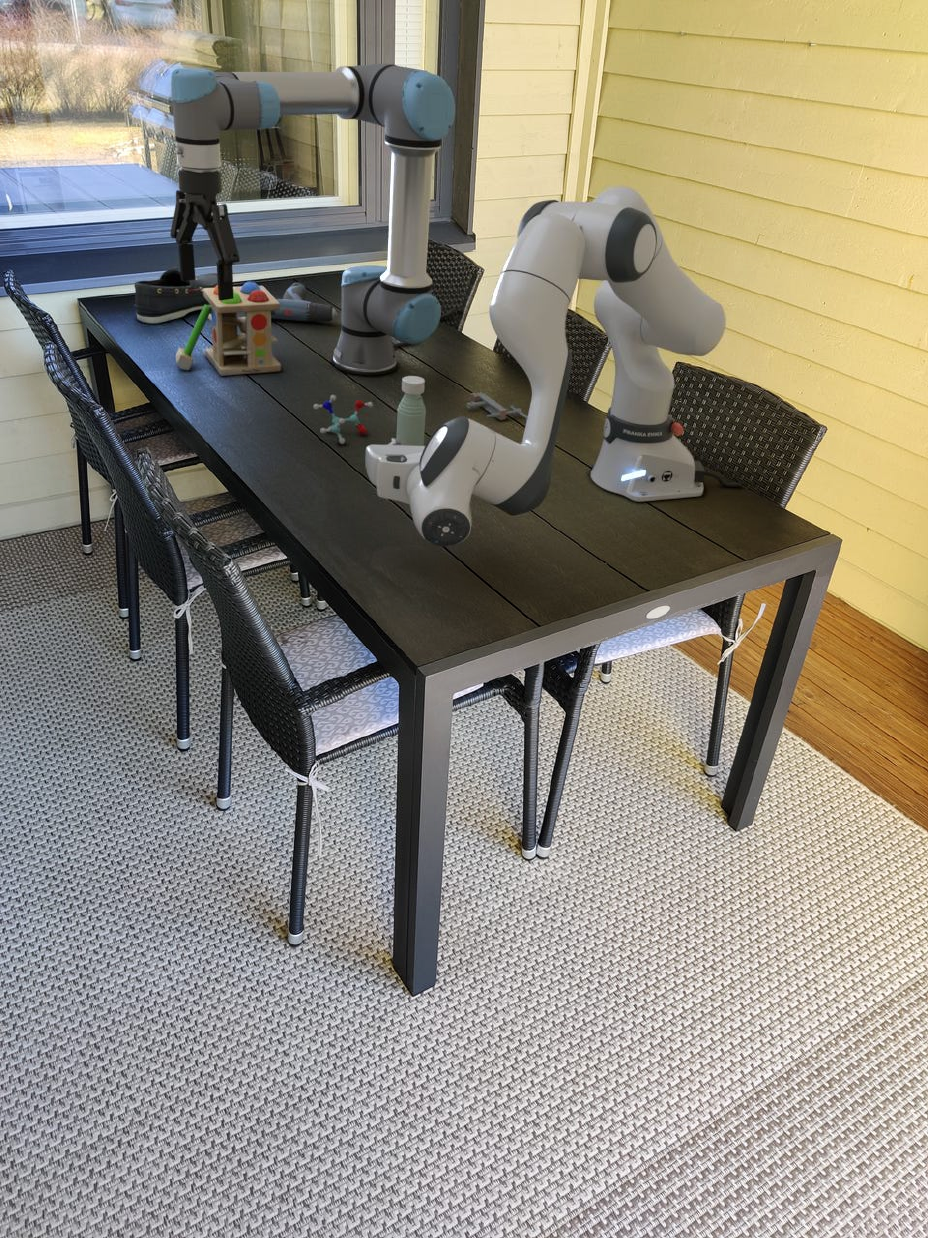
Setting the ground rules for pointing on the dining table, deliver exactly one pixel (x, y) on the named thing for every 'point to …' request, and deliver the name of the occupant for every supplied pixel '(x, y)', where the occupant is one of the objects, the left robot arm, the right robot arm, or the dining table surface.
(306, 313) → the power drill
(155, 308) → the boat shoe
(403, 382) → the cap
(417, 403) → the bottle
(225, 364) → the pounding bench toy
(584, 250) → the right robot arm
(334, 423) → the molecular model
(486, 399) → the clamp
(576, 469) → the dining table surface
